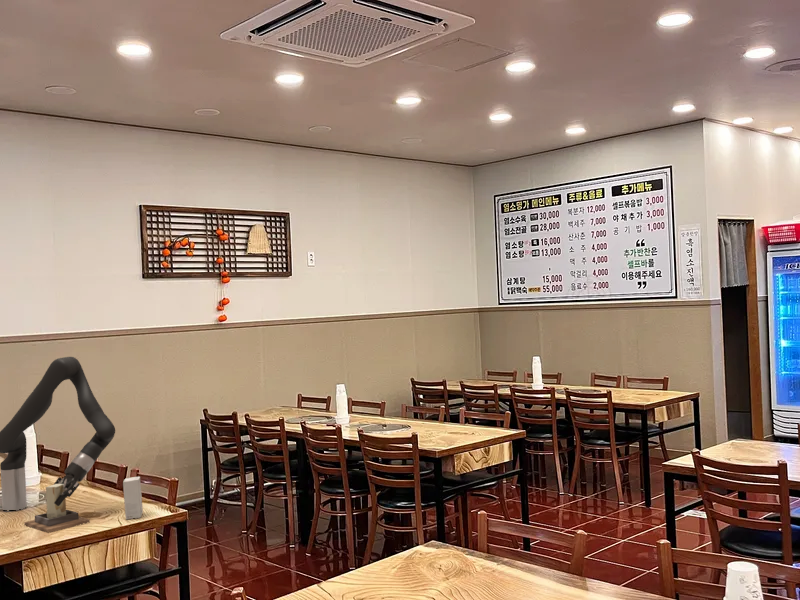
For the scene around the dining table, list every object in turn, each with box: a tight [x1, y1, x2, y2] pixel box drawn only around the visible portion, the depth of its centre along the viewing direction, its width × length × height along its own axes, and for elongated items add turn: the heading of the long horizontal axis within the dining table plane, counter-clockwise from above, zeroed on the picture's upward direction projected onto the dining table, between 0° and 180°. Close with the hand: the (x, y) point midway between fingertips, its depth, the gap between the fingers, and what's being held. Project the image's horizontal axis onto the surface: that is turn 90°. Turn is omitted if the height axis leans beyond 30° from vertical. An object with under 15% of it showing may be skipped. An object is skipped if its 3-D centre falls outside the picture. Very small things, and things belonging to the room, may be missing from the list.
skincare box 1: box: [45, 484, 67, 519], centre depth 304 cm, size 6×4×12 cm
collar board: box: [24, 509, 91, 534], centre depth 304 cm, size 20×16×4 cm
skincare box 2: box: [122, 476, 144, 520], centre depth 309 cm, size 8×6×15 cm
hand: (52, 503), depth 303 cm, fingers closed on skincare box 1, 6 cm apart
